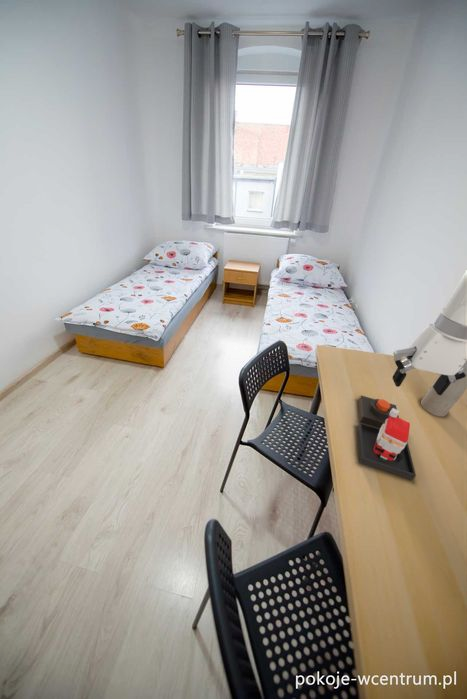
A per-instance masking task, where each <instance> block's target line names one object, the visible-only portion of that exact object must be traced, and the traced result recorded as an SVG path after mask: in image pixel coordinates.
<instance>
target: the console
mask: <svg viewBox="0 0 467 699" xmlns="http://www.w3.org/2000/svg"><path fill="white" fill-rule="evenodd" d="M378 400H380V399H379V398H372V397H368V396H365V395H360V396H359V399H358V400H357V403H358V417H359V423H364V424H367V425H370V426H374V427H377V428H381V426H382V425H383V424H385V421H386V419H388V418H389V416H390V411H391V410H392V408H394V409H396V410H398V408H397V404H394V403H390V402H388V403H389V404H390V408H389V410H388V411H387V412H384V411H381V410H379V409H378V408H377V407H376V404H377V402H378ZM397 417H398V418H400V416H399V415H398V416H397Z"/></svg>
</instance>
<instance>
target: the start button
mask: <svg viewBox="0 0 467 699" xmlns="http://www.w3.org/2000/svg"><path fill="white" fill-rule="evenodd" d="M389 403H390V402H389V401H387V400H386V399H380V400H378V402H377V404H376V407H377V408H378V409H379V410H381V411H384V412H387V411H388V410H389V408H390V404H391V403H390V404H389Z"/></svg>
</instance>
